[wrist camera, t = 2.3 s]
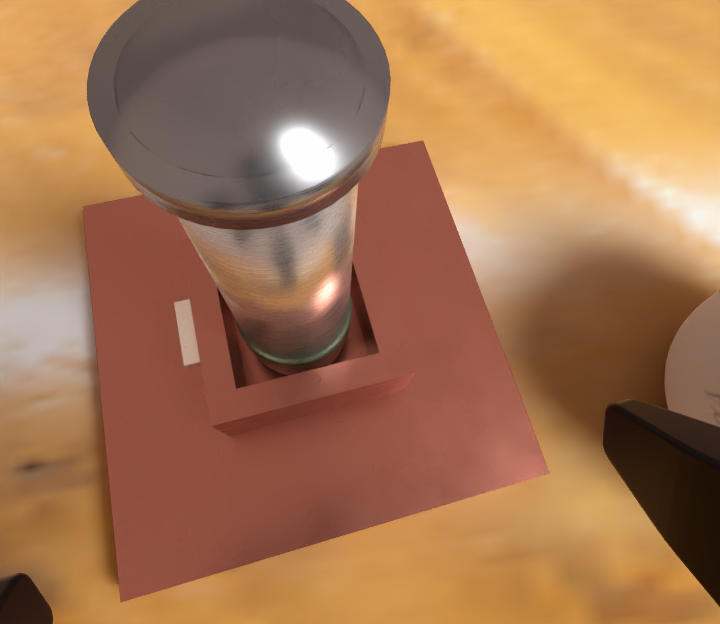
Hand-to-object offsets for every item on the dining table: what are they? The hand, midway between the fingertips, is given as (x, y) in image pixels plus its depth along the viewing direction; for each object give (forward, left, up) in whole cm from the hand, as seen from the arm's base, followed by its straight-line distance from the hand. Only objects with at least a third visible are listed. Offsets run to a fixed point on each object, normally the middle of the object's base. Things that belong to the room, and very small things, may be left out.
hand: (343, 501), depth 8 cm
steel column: (+5, +5, -11) cm, 13 cm away
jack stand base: (+5, +5, -13) cm, 14 cm away
